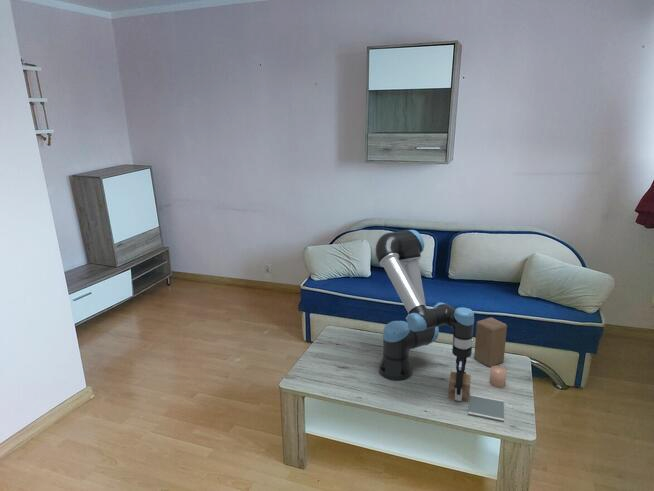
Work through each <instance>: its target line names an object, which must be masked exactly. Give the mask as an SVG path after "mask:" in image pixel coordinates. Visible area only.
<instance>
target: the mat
mask: <svg viewBox="0 0 654 491" xmlns="http://www.w3.org/2000/svg"><path fill="white" fill-rule="evenodd" d="M468 403H469V404H468V413H467V415H468V416H472V417H476V418H482V419H487V420H491V421H495V422H501V423H505V408H504V407H505V404H504V403H505V402H504V400H503V399H496V398H491V397H487V396H482V395H478V394H477V395H476V394H470V393H469V401H468Z"/></svg>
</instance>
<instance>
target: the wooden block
mask: <svg viewBox="0 0 654 491" xmlns="http://www.w3.org/2000/svg"><path fill="white" fill-rule="evenodd" d="M507 330H508V325H507V324H506V323H504V322H502V321H500V320H498V319H496V318H494V317H487V318H483V319H481V320H478V321H477V322H476V329H475V339H474V358H473V359H474V360H476V361H478V362H480V363H481V364H483V365H484V366H486V367H488V368H491V367H492V366H498V365H499V364H502V363H504V361H505V353H506V352H505V351H506V350H505V349H506V343H507V342H506V341H507V340H506V338H507Z"/></svg>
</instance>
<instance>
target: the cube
mask: <svg viewBox="0 0 654 491" xmlns="http://www.w3.org/2000/svg"><path fill="white" fill-rule="evenodd" d="M456 374H457V371H456V372H455V371H450V375H449V382H448V393H447V394H448V396H447V398H448V399H449V400H454V401H456V400H455V387H454V385H456ZM471 378H472V375H471V374H469V373H466V374H463V382H462V386H463V388H462V401H461V402H466V403H469V401H470V391H471V390H470V389H471V388H470V387H471Z"/></svg>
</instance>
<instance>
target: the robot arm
mask: <svg viewBox="0 0 654 491" xmlns="http://www.w3.org/2000/svg"><path fill="white" fill-rule="evenodd" d="M423 238H424V237H423V236H422V235H421V233H420V232H418V231H417V230H415V229H405V230H400V231H391V232H387V233H384V234H383V235H381V236H380V237H379V238H378V240H377V242H376V244H375V257H376V260H377V262H378V264H379V266H380V267H383V268H384V271H385V273H386V274H387V276H388V278H389V280H390V282H391V283H392V285H393V287H394V289H395V291H396V293H397V295H398V297H399V299H400V300H401V302H402V303H403V306H404V308H405V309H406V311H407V313H408V314H407V315H406V317H405V321H404V320H391V321H390V322H388V323H387V324H385V326H384V328H383V333H382V338H383V339H382V340H383V341H382V342H383V344H382V345H383V348H382V349H383V350H382V358H381V360H380V362H379V367H378V371H379V374H380V375H381V376H382V377H384V378H385V379H388V380H391V381H404V380H407V379H408V378H410V377H412V374H413V366H412V364H411V360H410V356H409V355H410V353H409V352H410V350H413V349H417V348H420V347H423V346H428V345H431V344H432V343H435V342H436V341H437V339H438V337H439V334H440V333H439V332H440V330H439V327H441V326H444V325H447V326H449V327H450V328H452V329H453V333H452V350H451V351H452V354H453V356H455V357H456V358H455V363H456V364H455V370H456V372H457V374H456V385H454V387H455V400H454V401H459V402H463V401H462V388H463V386H462V382H463V374H467V371H465V370H466V365H467V359H468V358H470V357H471V356H472V351H473V347H472V346H473V342H474V343H475V339H473V337H474V326H475V325H474V323H475V314H474V311H473V310H472V309H471V308H468V307H462V306H461V307H457V308H455V307H453V306H451V305H450V304H448V303H444V302H436V304H435V305H434V306H433V308H428V309H427V305H426V299H425V293H424V288H423V286H424V285H423V281H422V276H421V275H422V274H421V269H420V263H419V260H420V259H421V258H422V254H421V253H423V252H424V250H425V241H424V239H423Z"/></svg>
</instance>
